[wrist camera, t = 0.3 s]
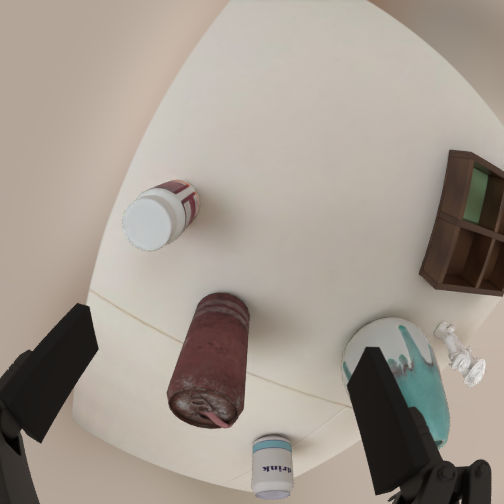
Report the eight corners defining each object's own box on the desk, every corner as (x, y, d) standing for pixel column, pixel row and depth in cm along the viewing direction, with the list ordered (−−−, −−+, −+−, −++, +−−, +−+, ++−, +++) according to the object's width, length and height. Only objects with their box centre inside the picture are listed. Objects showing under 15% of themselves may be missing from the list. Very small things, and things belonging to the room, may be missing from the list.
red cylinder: (229, 343, 32) (215, 439, 19) (187, 313, 31) (150, 407, 18) (262, 313, 31) (263, 414, 18) (218, 280, 29) (190, 375, 16)
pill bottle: (147, 202, 26) (106, 224, 19) (177, 169, 25) (143, 178, 17) (178, 235, 28) (148, 268, 20) (210, 204, 26) (189, 227, 19)
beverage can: (296, 434, 40) (300, 490, 29) (283, 449, 42) (286, 500, 31) (258, 430, 40) (257, 489, 28) (249, 446, 42) (246, 499, 31)
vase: (329, 376, 34) (354, 489, 18) (340, 309, 30) (392, 439, 13) (401, 365, 34) (445, 459, 17) (422, 300, 30) (498, 397, 13)
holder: (449, 149, 23) (471, 151, 19) (515, 186, 23) (533, 192, 20) (418, 274, 28) (434, 289, 25) (487, 284, 29) (502, 296, 25)
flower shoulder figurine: (420, 333, 32) (459, 391, 20) (437, 311, 30) (482, 366, 19) (449, 347, 33) (484, 397, 22) (464, 328, 32) (503, 376, 20)
